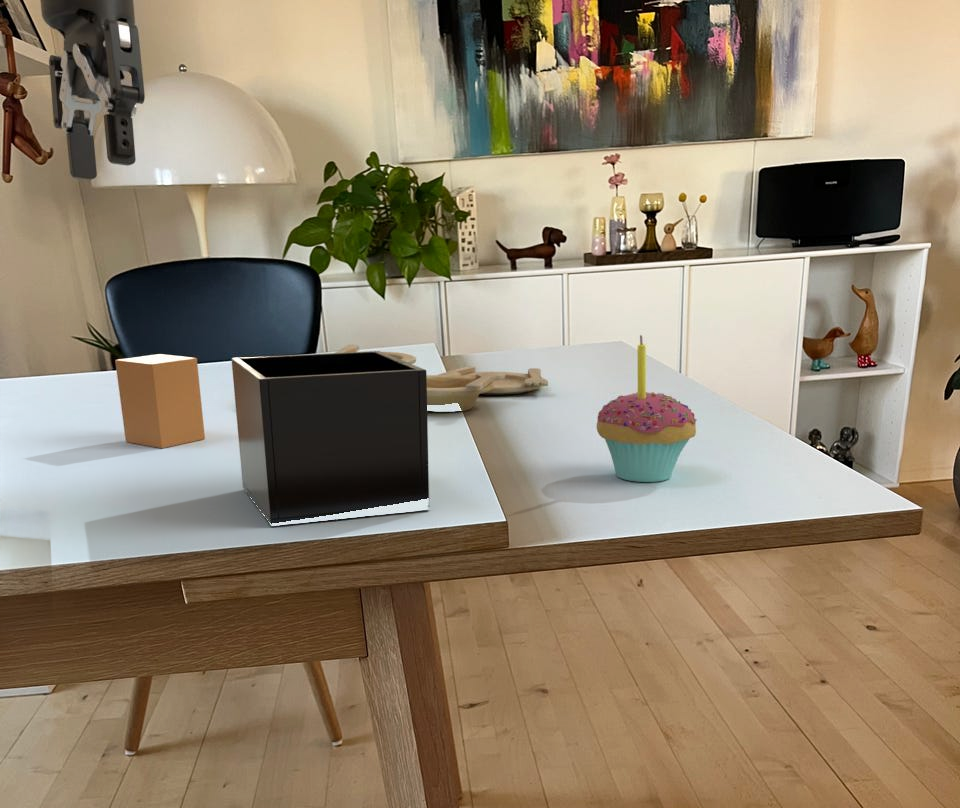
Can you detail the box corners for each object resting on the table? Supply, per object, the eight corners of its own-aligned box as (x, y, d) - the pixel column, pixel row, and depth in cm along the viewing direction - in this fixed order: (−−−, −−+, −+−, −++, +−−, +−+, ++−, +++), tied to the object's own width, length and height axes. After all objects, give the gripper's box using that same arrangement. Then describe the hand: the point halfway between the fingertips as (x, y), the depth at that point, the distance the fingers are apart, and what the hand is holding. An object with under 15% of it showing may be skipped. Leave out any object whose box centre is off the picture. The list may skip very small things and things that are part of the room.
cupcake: (672, 492, 85) (682, 340, 81) (577, 480, 89) (582, 335, 85) (704, 471, 92) (716, 330, 88) (615, 460, 96) (621, 325, 91)
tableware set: (221, 407, 123) (218, 371, 121) (326, 372, 149) (325, 343, 147) (509, 423, 113) (509, 385, 112) (567, 383, 139) (568, 352, 138)
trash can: (271, 527, 76) (259, 379, 72) (242, 489, 87) (231, 358, 82) (429, 511, 80) (426, 369, 76) (384, 476, 91) (379, 350, 87)
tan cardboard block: (161, 448, 101) (151, 364, 98) (125, 442, 104) (114, 359, 101) (205, 439, 106) (197, 357, 103) (169, 433, 108) (160, 354, 105)
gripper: (10, -22, 91) (31, 178, 95) (70, -75, 80) (91, 152, 84) (95, -2, 96) (111, 188, 100) (162, -50, 85) (178, 164, 89)
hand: (102, 171), depth 92 cm, fingers open, 8 cm apart
